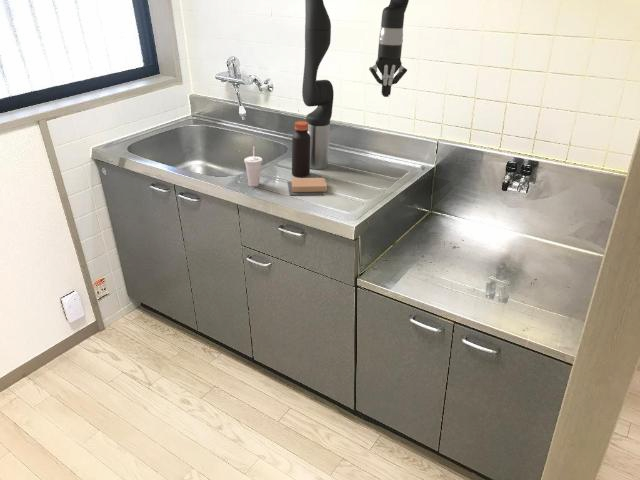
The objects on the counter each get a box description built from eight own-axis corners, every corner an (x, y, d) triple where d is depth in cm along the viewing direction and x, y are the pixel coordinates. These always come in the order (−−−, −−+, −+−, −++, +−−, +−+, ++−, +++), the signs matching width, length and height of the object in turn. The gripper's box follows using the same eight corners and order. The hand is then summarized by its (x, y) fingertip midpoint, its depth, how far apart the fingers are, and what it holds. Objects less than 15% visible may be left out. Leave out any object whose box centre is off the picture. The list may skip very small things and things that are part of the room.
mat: (319, 182, 198) (319, 181, 198) (324, 195, 187) (324, 194, 187) (287, 182, 196) (287, 181, 196) (290, 195, 186) (290, 194, 186)
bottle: (302, 179, 200) (304, 126, 191) (288, 174, 203) (288, 123, 194) (312, 173, 205) (314, 122, 196) (298, 169, 208) (299, 119, 199)
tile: (323, 177, 195) (291, 178, 193) (327, 186, 188) (293, 186, 186) (323, 183, 196) (291, 183, 194) (326, 192, 189) (292, 192, 187)
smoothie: (265, 182, 195) (265, 145, 189) (258, 189, 190) (257, 151, 183) (249, 180, 197) (248, 143, 191) (242, 186, 192) (240, 148, 185)
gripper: (407, 41, 176) (401, 94, 184) (368, 40, 175) (364, 93, 183) (413, 44, 170) (407, 99, 178) (373, 43, 168) (368, 99, 176)
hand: (385, 96), depth 180 cm, fingers closed
